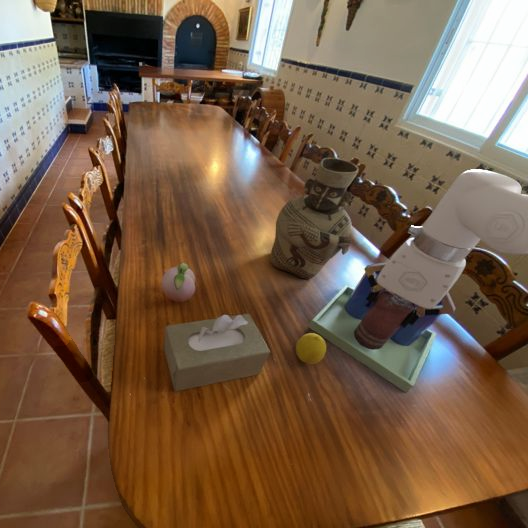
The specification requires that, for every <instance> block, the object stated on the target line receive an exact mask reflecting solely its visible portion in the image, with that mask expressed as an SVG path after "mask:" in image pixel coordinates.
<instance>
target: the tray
mask: <svg viewBox="0 0 528 528" xmlns="http://www.w3.org/2000/svg"><path fill="white" fill-rule="evenodd" d="M354 289H355V287H353V286H351V285H349V284H347V283H346V284H345V285H343V287H342V288H341V289H340V290H339V291H338V292H337V293H336V294H335V295H334V296H333V297H332V298H331V299H330V301H329V302H328V303H327V304H326V305H325V306H324V307H323V308H322V309H321V310H320V311H319V312H318V313H317V315H315V317H313V318H312V320H311V321H310V324H308V328H310V329H311V330H312V331H314V332H315V333H316V334H317V335H319V336H321V337H322V338H323V339H326V340H327V341H329V342H330V343H331V344H333V345H335V346H336V347H338V348H339V349H341V350H342V351H343V352H345V353H346V354H348V355H349V356H351V357H353V358H354V359H355V360H357V361H358V362H360V363H361V364H363V365H364V366H366V367H368V368H369V369H370V370H372V371H373V372H375V373H376V374H378V375H379V376H381V377H382V378H383V379H385V380H387V381H388V382H390V383H391V384H393V386H395V387H397V388H399V389H400V390H401V391H403V392H405V393H407V392H409V391H410V390H411V389H412V388H413V387H414V386H415V384H416V381H417V380H418V377H419V375H420V373H421V371H422V368H423V366H424V363H425V362H426V359H427V357H428V354H429V353H430V351H431V348H432V346H433V344H434V341H435V339H436V337H437V334H438V333H436V332H434V331H433V330H431V329H429V328H428V329H427V330H426V331H425V332H424V333H423V334H422V335H421V336H420V337H419V338H418V339H417V340H416V341H415V342H414V343H413V344H412V345H410V346H403V345H400V344H397V343H395V342H394V341H392V340H391V339H389V340H388V341H387V342H386V343H385V344H384V345H383V347H382V348H380V349H376V350H372V349H368V348H365V347H364V346H362V345H360V344H359V343H358V342H357V340H356V339H355V336H354V330H355V329H356V328H357V326H358V325H359V323H360V322H361V321H362V320H359V319H356V318H354V317H352V316H351V315H349V314H348V313H347V312H346V310H345V308H344V305H345V303H346V302H347V300H348V298H349V297H350V295H351V294H352V292H353V291H354Z"/></svg>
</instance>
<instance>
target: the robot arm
mask: <svg viewBox="0 0 528 528" xmlns="http://www.w3.org/2000/svg"><path fill="white" fill-rule="evenodd" d="M407 233H408V234H410V235H411V236H412V237H410V238H408V239H407V240H405V242H403V243H402V245H400V246H399V247H398V249H397V250H396V251H395V252H394V253H393V254H392V256H391V257H390V258H389V259H388V261H386V262H385V261H384V262H379V263H378V262H377V263H378V264H373V263H371V264H372V265H371V264H367V265H366V266H365V267H364V273H365V272H366V275H367V276H368V281H369V283H370V286H371V292H370V294H369V295H368V297H367V298H366V300H367V301H369V302H368V303H367V304H366V307H370V306H371V304H372V303H373V302H374V300H375V299H376V297H377V296H378V295H379V293H380V292H381V291H382V289H384V288H385V289H387V290H389V291H391V292H393V293H395V294H397V295H398V296H400V297H402V298H404V299H406V300H408V301H410V302H412V303H414V304H416V305H417V307H415V309H414V311H413V312H412V313H411V314H410V315H409V316H408V318H407V319H406V320H405V321H404V322H403V323H402V325H401V326H402V327H403V328H405V327H406V326H407V325H408V324H410V325H413V324H414V323H415V322H416V321H417V320H418V319H419V317H423V316H426V315H438V314H441V315H452V314H455V312H456V309H457V308H456V306H455V303H454V300H453V299H452V297H451V295H450V292H449V291H450V290H451V289H452V287H453V286H454V285H455V284H456V283H457V281H458V280H459V278H460V277H461V275H462V273H463V272H464V270H465V268H466V266H467V261H466V258H467V257H468V255H469V254H470V253H471V252H472V250H474V249H475V247H476V246H477V245H478V244H479V242H483V243H484V244H485V245H486V246H488V247H489V248H491V249H493V250H495V251H497V252H500V253H503V254H509V255H526V254H528V194H524V193H522V186H521V183H520V182H518V181H517V180H515V179H514V178H511V177H510V176H507V175H505V174H501V173H498V172H495V171H490V170H484V169H470V170H466V171H464V172H462V173H460V174H459V175H458V176H456V178H455V180H454V181H453V182H452V184H451V185H450V187H449V188H448V189H447V191H446V192H445V194H444V195H443V197H442V198H441V199H440V200H439V202H438V203H437V205H436V206H435V208H434V209H433V211H432V212H431V214H430V215H429V216H428V218H427V220H425V222H424V223H423V225H422V226H414V225H411V226H409V228H408V230H407ZM376 271H381V272H380V273H379V275H378V277H377V275H376V274H375V272H376ZM432 300H433V301H432ZM440 301H441V302H442V304H443V305H440V306H438V305H437V304H438V303H439V302H440Z"/></svg>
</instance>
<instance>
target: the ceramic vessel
mask: <svg viewBox="0 0 528 528" xmlns="http://www.w3.org/2000/svg"><path fill="white" fill-rule="evenodd" d="M358 174H359V167H358V166H357V165H356V164H354V163H353V162H351V161H348V160H345V159H341V158H335V157H323V158H322V159H321V160H320V162H319V164H318V167H317V169H316V173H315V179H313V178H308V179H307V180H306V182H305V184H304V187H303V193H304V194H306V195H301V196H298V197H295V198H291V199H290V200H288V201H287V202H286V203H285V204H284V205H283V207H282V208H281V210H280V211H279V213H278V215H277V218H276V221H275V234H274V236H275V237H274V240H273V241H274V242H273V245H272V249H271V252H270V262H271V264H272V266H274V268H276V269H279V270H281V271H283V272H288V273H290V274H293V275H295V276H296V277H298V278H301V279H304V280H305V279H306V280H307V279H309V280H310V279H312V278H314V277H315V276H316V275H318V273H319V272H321V271H322V269H323V268H324V267H325V266H326V264H327V263H328V262H329V261H330V260H331V259H333V258H334V257H335V256H337V254H338V253H339V252H340V251H341V255H343V256H344V255H345V254H347V253H348V252H349V247H350V246H351V245H352V239H351V238H350V235H351V232H352V220H351V217H350V215H349V214H348V212H347V211H346V209H345V207H347V205H348V204H349V203H350V201H351V199H352V192H350V191H347V189H348V187H349V186H350V185H351V184H352V182H353V181H354V179H355V178H356V176H357V175H358Z"/></svg>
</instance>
